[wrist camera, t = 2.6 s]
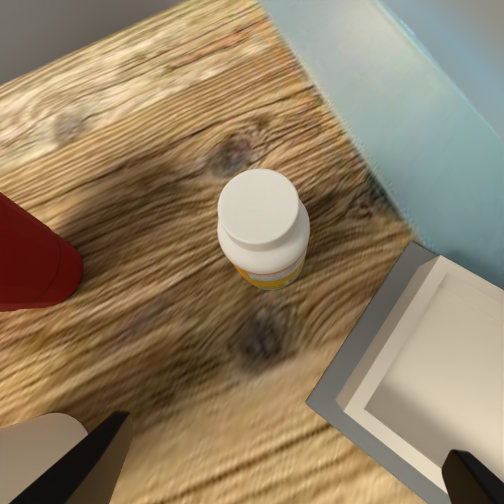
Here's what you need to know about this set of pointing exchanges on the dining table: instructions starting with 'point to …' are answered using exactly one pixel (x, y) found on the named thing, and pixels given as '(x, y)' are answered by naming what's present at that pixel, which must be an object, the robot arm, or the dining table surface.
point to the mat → (347, 362)
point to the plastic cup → (33, 261)
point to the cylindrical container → (34, 450)
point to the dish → (436, 372)
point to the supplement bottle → (263, 228)
